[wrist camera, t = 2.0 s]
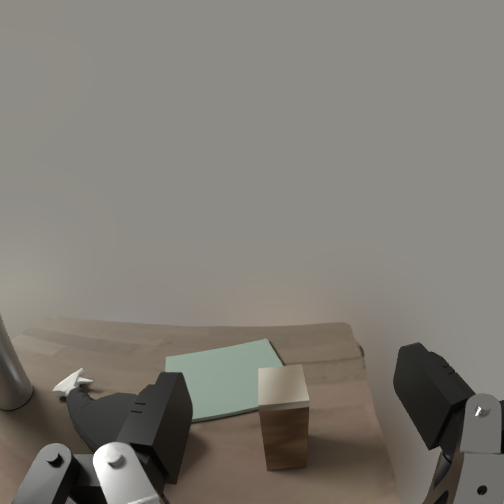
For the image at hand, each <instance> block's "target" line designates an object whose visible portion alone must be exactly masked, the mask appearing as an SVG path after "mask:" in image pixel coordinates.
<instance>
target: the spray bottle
mask: <svg viewBox="0 0 504 504" xmlns="http://www.w3.org/2000/svg"><path fill="white" fill-rule="evenodd" d="M84 373H85V371H84V370H83V369H82V368H81V369H80V370H78V371H77V372H74V373H73V374H72V375H70V376H69V377H67V378H66V379H65V380H63V381H62V382H60V383H59V384H58V385H57V386H56V387H55V388H54V389H53V392H54V394H55V395H56V396H65V397H66V401H67V406H68V411H69V414H70V417H71V420H72V422H73V424H74V427H75V429H76V431H77V432H78V434H79V435H80V437H81V438H82V439H83V440H84V441H85V442H86V443H87V445H88V446H89V447H90V448H91V449H92V450H93V451H94V452H95V453H96V451H97V450H98V449H99V448H100V447H102V446H103V445H105V444H108V443H113V442H115V441H116V439H117V437H118V435H119V433H120V431H121V429H122V427H123V425H124V423H125V421H126V419H127V417H128V415H129V413H131V409H132V407H133V405H135V401H136V399H137V397H138V395H136V394H129V393H116V394H112V395H109V396H105V397H102V398H99V399H97V400H95V401H94V399H92V398H90V396H89V395H88V394H86V392H85V390H84V388H81V387H79V385H80V384H85V383H94V381H93V380H88V379H84V378H81V376H82V375H83V374H84Z"/></svg>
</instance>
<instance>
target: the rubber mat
mask: <svg viewBox="0 0 504 504" xmlns="http://www.w3.org/2000/svg"><path fill="white" fill-rule="evenodd" d="M279 366H283V365H282V363H281V361H280V360H279V358H278V356H277V355H276V353H275V351H274V350H273V348H272V347H271V345H270V343H269V342H268V340H267V339H263V340H259V341H254V342H249V343H244V344H240V345H235V346H229V347H224V348H219V349H213V350H208V351H202V352H196V353H190V354H183V355H177V356H170V357H166V368H165V372H182V373H183V375H184V378H185V381H186V385H187V388H188V391H189V394H190V397H191V400H192V405H193V417H192V421H191V422H197V421H204V420H210V419H215V418H221V417H226V416H231V415H236V414H241V413H246V412H250V411H254V410H259V407H258V368H268V367H279Z"/></svg>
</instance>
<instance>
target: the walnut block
mask: <svg viewBox="0 0 504 504" xmlns="http://www.w3.org/2000/svg"><path fill="white" fill-rule="evenodd" d="M258 407H259V414H260V422H261V429H262V436H263V443H264V451H265V458H266V465H267V471H271V470H284V469H294V468H303V467H306V459H307V443H308V423H309V396H308V392H307V387H306V383H305V378H304V373H303V369H302V364H298V365H289V366H279V367H268V368H258Z"/></svg>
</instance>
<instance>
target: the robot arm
mask: <svg viewBox="0 0 504 504" xmlns="http://www.w3.org/2000/svg"><path fill="white" fill-rule="evenodd" d="M393 384H394V389H395V392H396V394H397V396H398V397H399V399H400V400H401V402H402V404H403V406H404V407H405V409H406V411H407V413H408V414H409V416H410V418H411V419H412V421H413V423H414V425H415V426H416V428H417V430H418V432H419V433H420V435H421V437H422V439H423V441H424V442H425V444H426V446H427V448H428V450H432V449H434V448H436V447H439V446H440V447H441V449H442V451H441V453H440V456H439V459H438V463H437V466H436V470H435V473H434V476H433V479H432V483H431V486H430V489H429V491H428V494H427V496H426V498H425V500H424V502H423V503H422V504H503V502H504V400H502V401H498V400H497V399H496V398H495V397H494V396H492V395H489V394H483V393H482V394H475V392H473V390H472V389H471V388H470V387H469V386H468V385H467V384H466V382H465V381H464V380H463V379H462V378H461V377H460V376H459V375H458V373H455V370H454V369H453V368H452V367H451V366H449V364H448V363H447V362H446V360H445V359H444V358H443V357H441V356H439V355H437V354H436V353H434V352H428V350H427V349H426V348H425V347H424V346H423V345H422V344H421V343H419V342H418V343H414V344H410V345H406V346H402V347H401V348H400V349H399V353H398V358H397V364H396V369H395V374H394V380H393ZM32 393H33V387H32V385H31V383H30V381H29V379H28V377H27V375H26V373H25V371H24V369H23V367H22V365H21V363H20V361H19V359H18V356H17V354H16V352H15V350H14V347H13V345H12V343H11V341H10V338H9V336H8V333H7V331H6V328H5V325H4V323H3V320H2V317H1V315H0V409H3V410H13V409H16V408H19V407H20V406H22V405H23V404H25V403H26V402H27V401H28V400H29V399H30V397H31V395H32ZM192 417H193V405H192V400H191V397H190V394H189V391H188V388H187V385H186V381H185V378H184V375H183V373H182V372H161V373H160V375H159V377H158V379H157V381H156V383H155V385H148V386H147V387H146V388H144V389H143V390H142V391H141V392H140V393H139V395H138V397H137V399H136V401H135V405H133V407H132V409H131V413H129V415H128V417H127V419H126V421H125V423H124V425H123V427H122V429H121V431H120V433H119V435H118V437H117V439H116V441H115V442H113V443H108V444H105V445H103V446H102V447H100V448H99V449H98V450H97V451H96V453H95V454H81V455H73V454H72V453H71V451H70V450H69V449H68V448H67V447H66V446H65V445H63V444H59V443H53V444H49V445H47V446H45V447H44V448H42V449H41V450H40V452H39V453H38V455H37V457H36V459H35V460H34V462H33V464H32V466H31V467H30V469H29V471H28V473H27V475H26V476H25V478H24V480H23V482H22V484H21V486H20V488H19V490H18V491H17V493H16V495H15V497H14V499H13V501H12V503H11V504H65V502H66V500H67V497H69V498H68V500H67V503H66V504H171V503H170V502H169V500H168V498H167V497H166V495H165V494H164V492H163V490H164V486H165V483H168V484H176V483H177V479H178V475H179V471H180V466H181V462H182V458H183V454H184V450H185V446H186V442H187V438H188V433H189V429H190V425H191V421H192Z"/></svg>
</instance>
